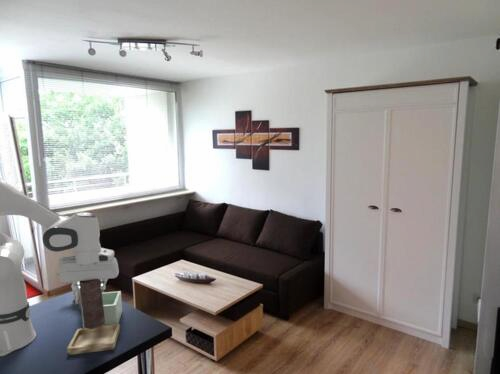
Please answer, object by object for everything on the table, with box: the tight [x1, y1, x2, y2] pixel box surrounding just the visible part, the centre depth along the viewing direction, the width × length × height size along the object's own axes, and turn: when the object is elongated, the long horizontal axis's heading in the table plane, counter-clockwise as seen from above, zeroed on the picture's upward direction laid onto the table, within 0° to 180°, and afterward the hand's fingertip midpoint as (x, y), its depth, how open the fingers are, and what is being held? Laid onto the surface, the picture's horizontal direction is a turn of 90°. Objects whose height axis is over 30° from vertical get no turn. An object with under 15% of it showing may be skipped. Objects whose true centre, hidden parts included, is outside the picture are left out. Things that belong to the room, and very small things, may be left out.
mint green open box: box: [81, 290, 123, 328], centre depth 144 cm, size 13×13×10 cm
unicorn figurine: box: [56, 273, 81, 306], centre depth 161 cm, size 7×20×13 cm, turn 61°
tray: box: [66, 323, 121, 356], centre depth 130 cm, size 16×13×2 cm
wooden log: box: [79, 279, 105, 329], centre depth 127 cm, size 8×7×20 cm
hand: (91, 290), depth 127 cm, fingers closed on wooden log, 7 cm apart
